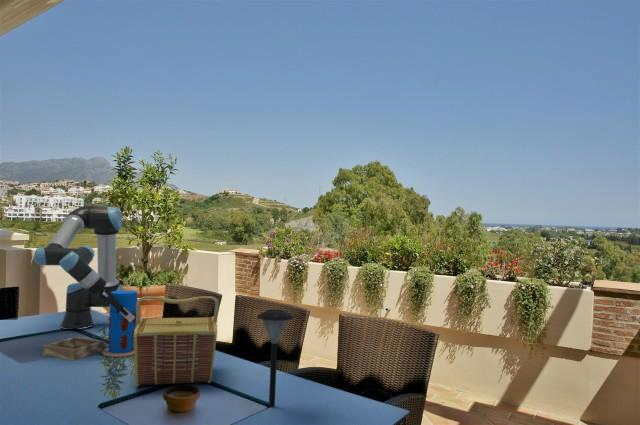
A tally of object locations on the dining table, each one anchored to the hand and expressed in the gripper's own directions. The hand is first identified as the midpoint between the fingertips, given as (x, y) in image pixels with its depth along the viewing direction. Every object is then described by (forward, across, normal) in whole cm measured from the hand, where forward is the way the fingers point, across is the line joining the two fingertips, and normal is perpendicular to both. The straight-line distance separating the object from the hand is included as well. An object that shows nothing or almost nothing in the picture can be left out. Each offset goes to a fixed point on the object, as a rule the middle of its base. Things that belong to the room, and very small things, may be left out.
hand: (130, 316), depth 203 cm
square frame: (-4, -6, -25) cm, 26 cm away
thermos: (+8, 0, -12) cm, 15 cm away
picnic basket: (+17, +44, -4) cm, 47 cm away
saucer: (+9, 0, -12) cm, 15 cm away
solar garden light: (+32, +82, +11) cm, 89 cm away
